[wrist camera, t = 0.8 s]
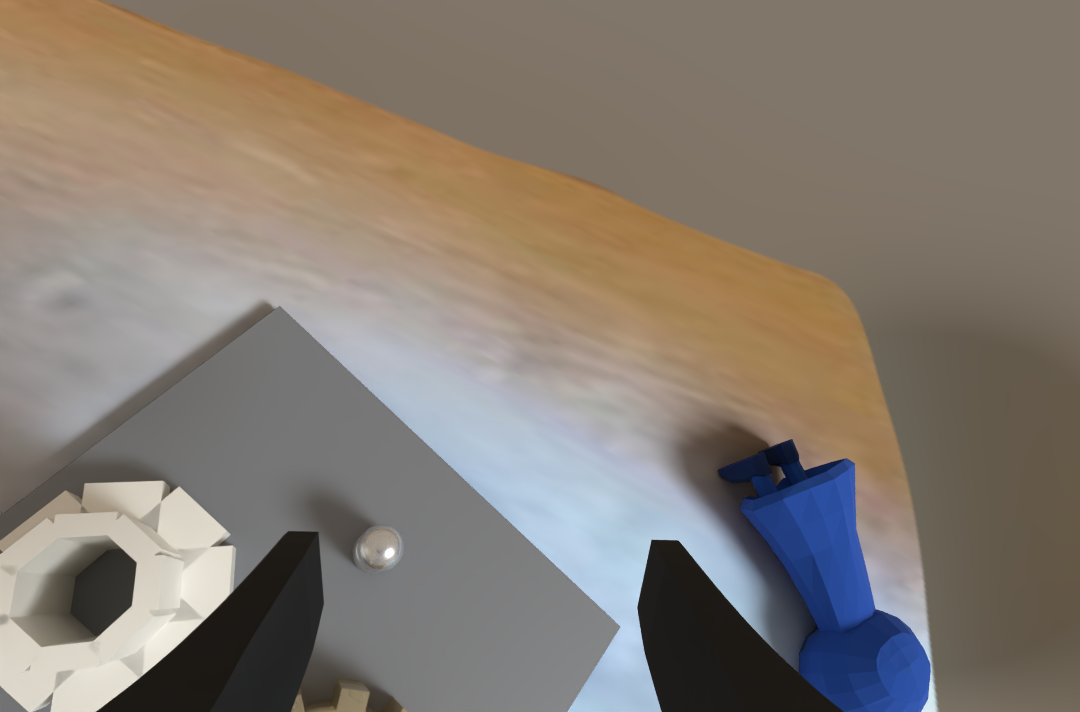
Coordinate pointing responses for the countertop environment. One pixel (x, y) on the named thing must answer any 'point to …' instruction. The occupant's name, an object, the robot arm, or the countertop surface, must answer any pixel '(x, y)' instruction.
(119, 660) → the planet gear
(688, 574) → the robot arm
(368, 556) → the carrier pin
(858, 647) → the toy
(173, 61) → the countertop surface
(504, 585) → the carrier plate
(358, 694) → the sun gear
